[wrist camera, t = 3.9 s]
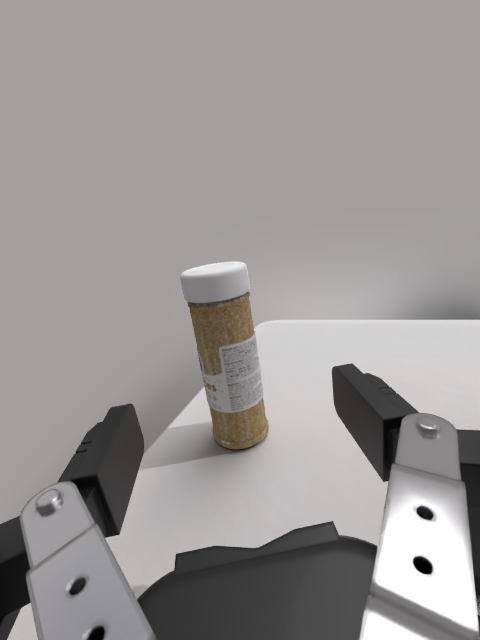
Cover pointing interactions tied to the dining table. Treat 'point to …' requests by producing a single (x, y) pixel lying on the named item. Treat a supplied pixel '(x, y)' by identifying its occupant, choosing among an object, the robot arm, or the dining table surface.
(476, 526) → the base pad
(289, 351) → the dining table surface
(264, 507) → the dining table surface
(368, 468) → the dining table surface
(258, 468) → the dining table surface
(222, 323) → the sprinkles bottle
